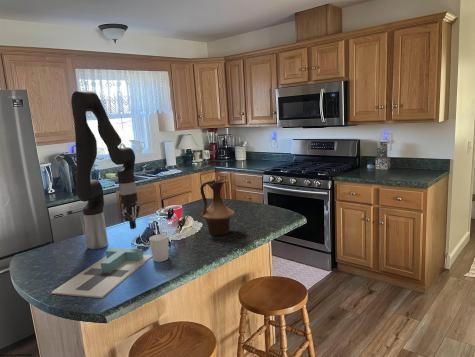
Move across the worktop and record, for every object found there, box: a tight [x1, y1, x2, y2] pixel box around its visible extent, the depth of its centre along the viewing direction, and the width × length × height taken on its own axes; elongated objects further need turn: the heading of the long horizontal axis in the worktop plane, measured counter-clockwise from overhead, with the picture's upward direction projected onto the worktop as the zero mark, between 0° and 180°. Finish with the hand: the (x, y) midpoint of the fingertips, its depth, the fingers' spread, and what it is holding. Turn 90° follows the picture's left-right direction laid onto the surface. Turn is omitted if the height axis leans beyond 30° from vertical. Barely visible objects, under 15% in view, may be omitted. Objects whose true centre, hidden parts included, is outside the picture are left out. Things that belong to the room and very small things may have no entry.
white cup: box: [148, 233, 169, 263], centre depth 161 cm, size 8×8×10 cm
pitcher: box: [200, 179, 235, 236], centre depth 189 cm, size 18×17×28 cm
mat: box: [50, 254, 153, 299], centre depth 151 cm, size 22×37×1 cm, turn 164°
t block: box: [101, 247, 144, 273], centre depth 158 cm, size 16×16×4 cm
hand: (133, 228), depth 170 cm, fingers closed
